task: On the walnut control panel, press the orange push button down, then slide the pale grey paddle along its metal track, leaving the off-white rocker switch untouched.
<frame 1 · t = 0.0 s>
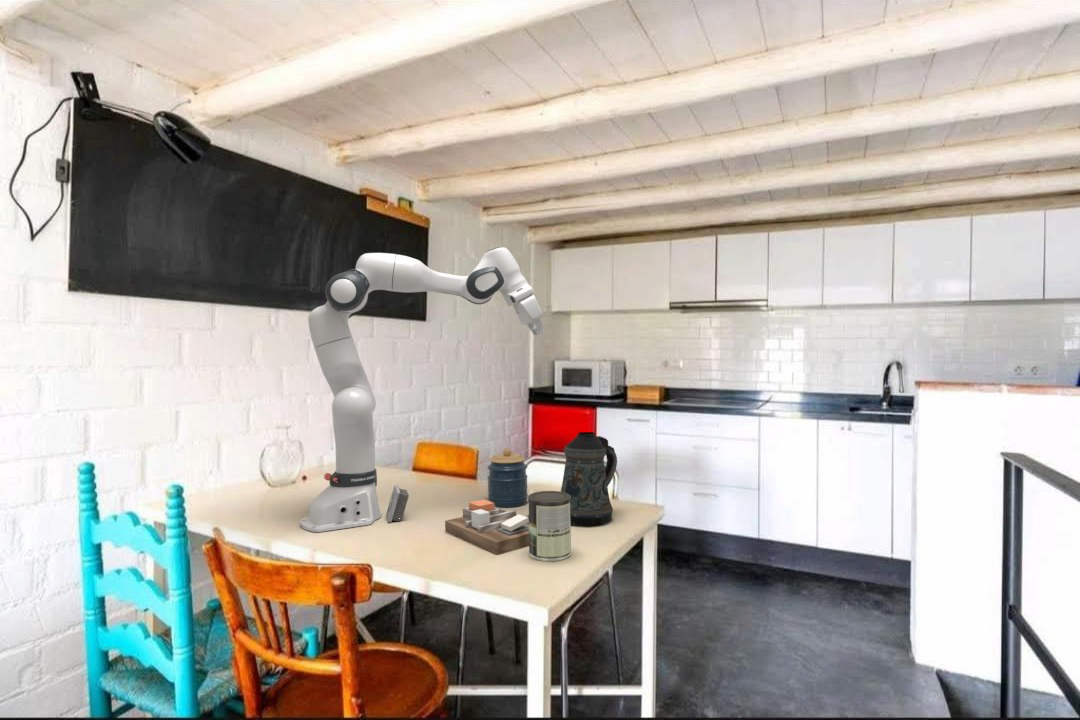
hand: (539, 334, 182), 54 cm above the table, tool tilted 30°, fingers open, 8 cm apart
coffee can: (550, 554, 140), on the table
beer stein: (586, 518, 170), on the table
rocker switch: (514, 522, 149), point 5 cm above the table, hinge at -12.0°
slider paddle: (480, 519, 151), point 5 cm above the table, slide at 0.0 cm
canister: (507, 503, 188), on the table
control panel: (497, 535, 155), on the table
push button: (481, 507, 161), point 6 cm above the table, slide at 0.0 cm
electrical switch: (396, 518, 172), on the table
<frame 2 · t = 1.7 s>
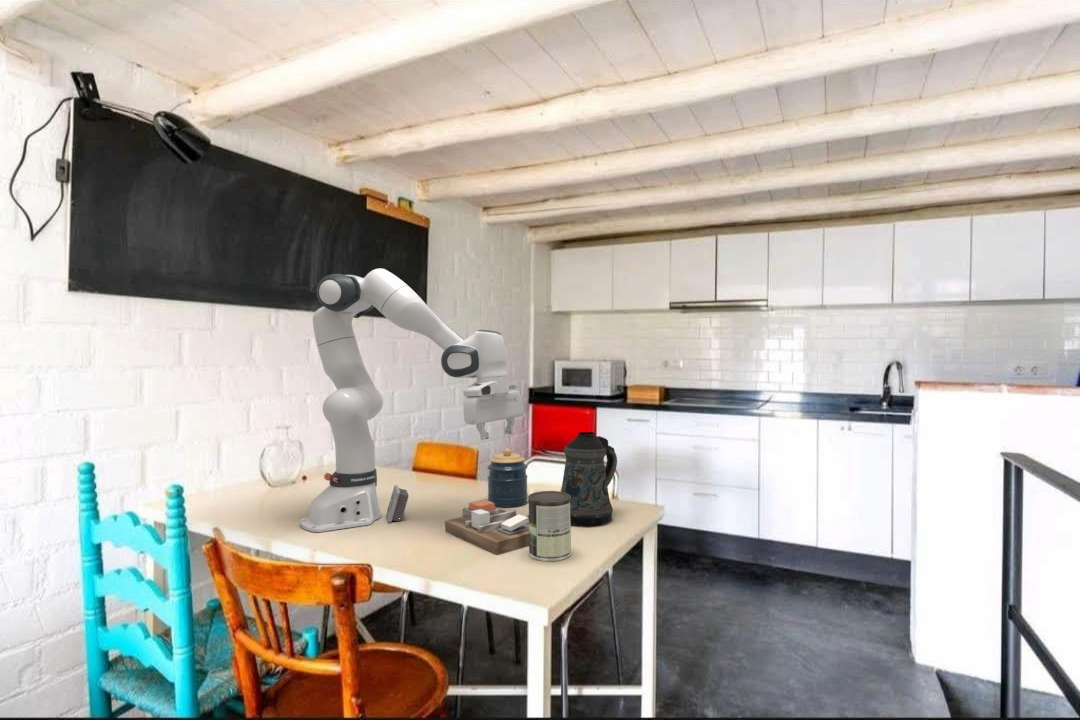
hand: (497, 436, 162), 25 cm above the table, tool pointing down, fingers open, 8 cm apart
nothing on the table moved.
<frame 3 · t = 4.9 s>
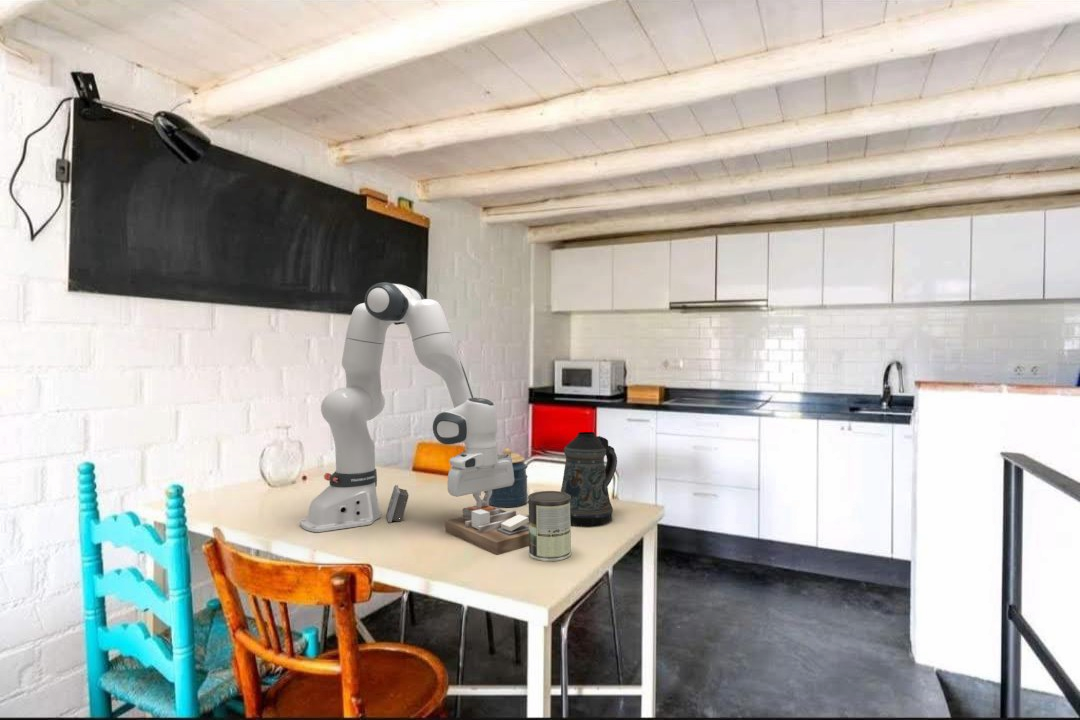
hand: (482, 506, 161), 6 cm above the table, tool pointing down, fingers closed, pressing on push button
push button: (481, 511, 161), point 5 cm above the table, slide at 1.2 cm, touching gripper
everything else where it was.
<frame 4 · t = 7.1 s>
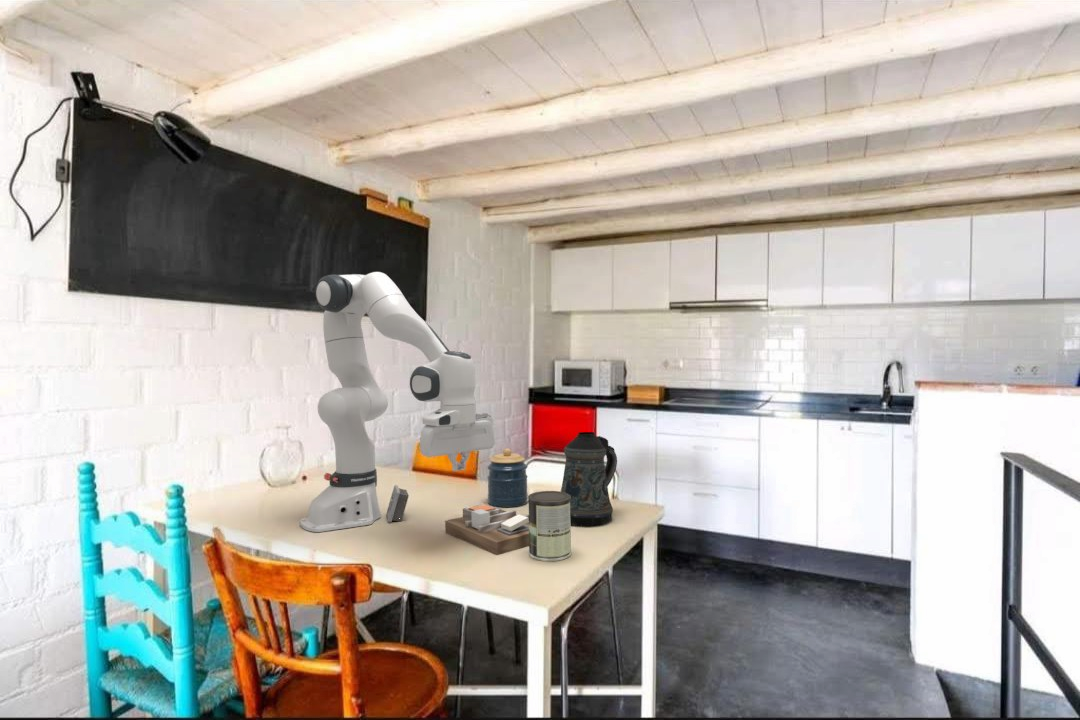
hand: (459, 470, 147), 19 cm above the table, tool pointing down, fingers closed
push button: (481, 512, 161), point 4 cm above the table, slide at 1.5 cm
everything else where it was.
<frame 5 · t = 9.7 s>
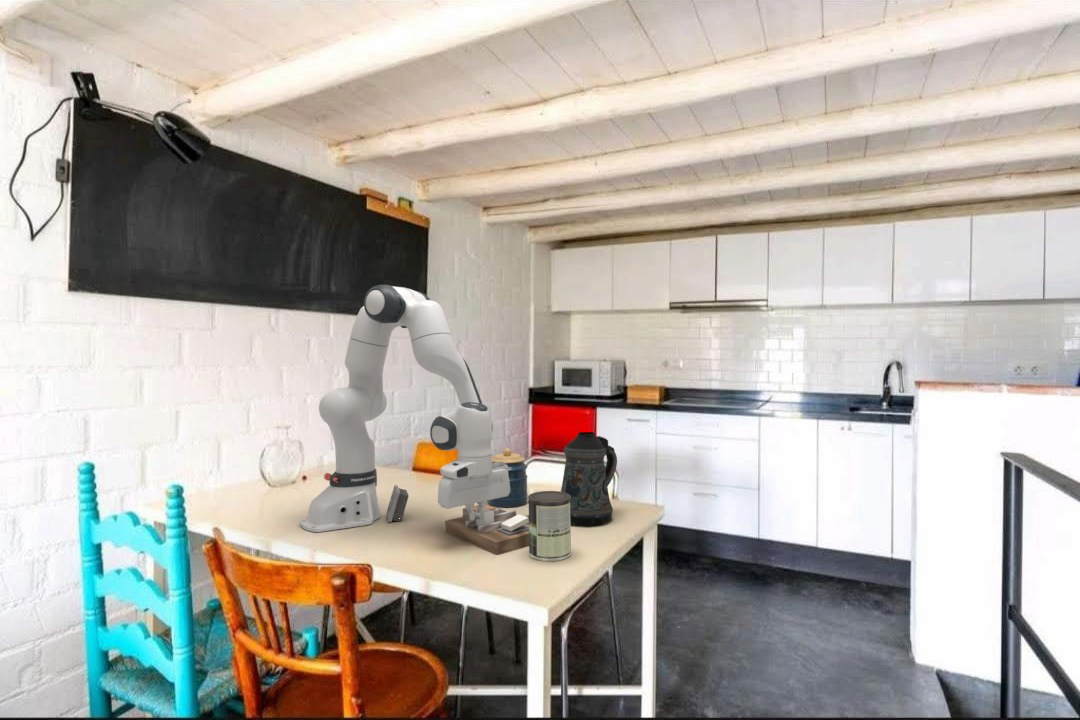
hand: (475, 519, 150), 6 cm above the table, tool pointing down, fingers closed
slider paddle: (485, 518, 152), point 5 cm above the table, slide at 1.4 cm, touching gripper
everything else where it was.
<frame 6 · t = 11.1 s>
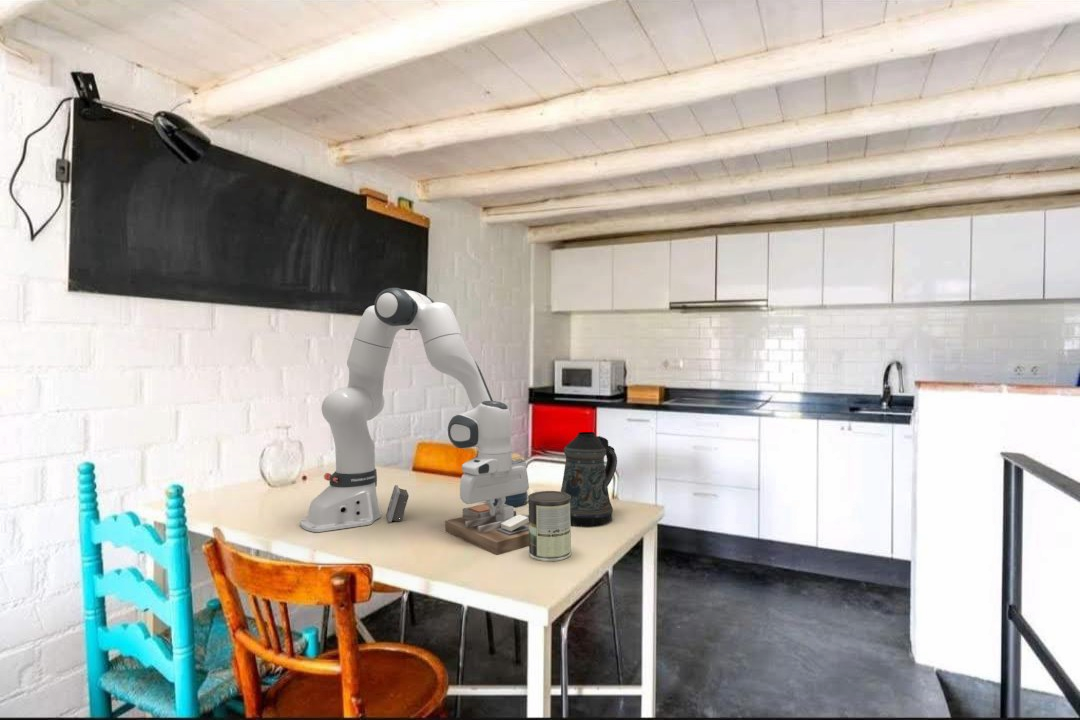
hand: (495, 514, 154), 6 cm above the table, tool pointing down, fingers closed
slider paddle: (504, 513, 156), point 5 cm above the table, slide at 7.8 cm, touching gripper
everything else where it was.
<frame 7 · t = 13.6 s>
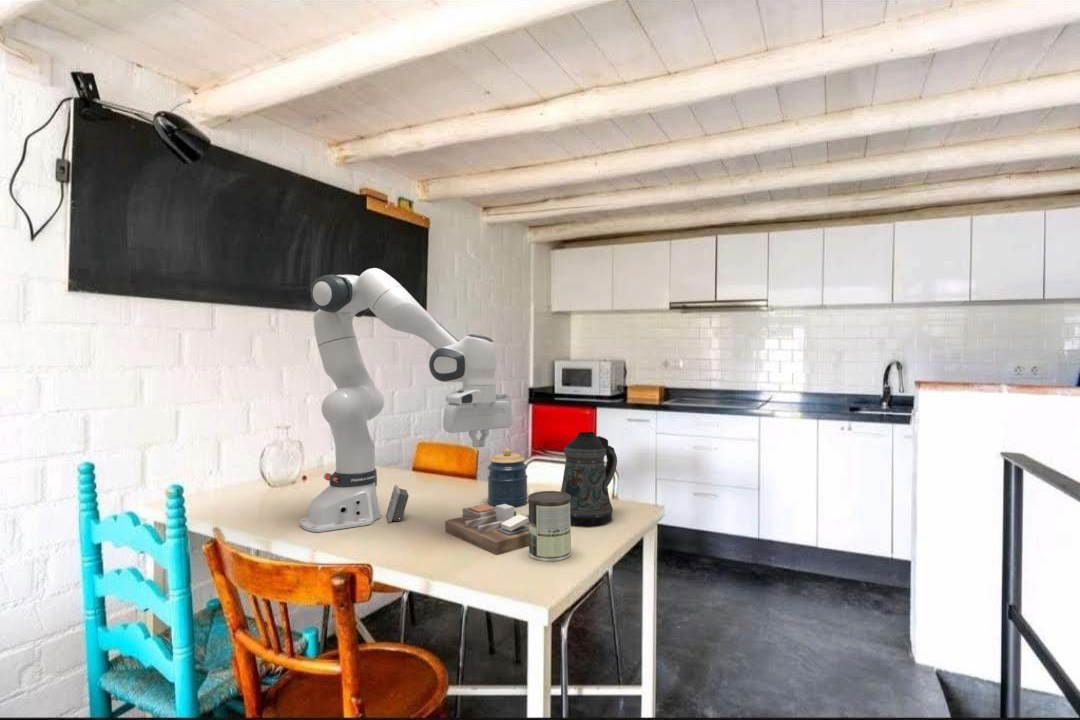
hand: (478, 446, 156), 23 cm above the table, tool pointing down, fingers closed
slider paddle: (504, 513, 156), point 5 cm above the table, slide at 7.9 cm
everything else where it was.
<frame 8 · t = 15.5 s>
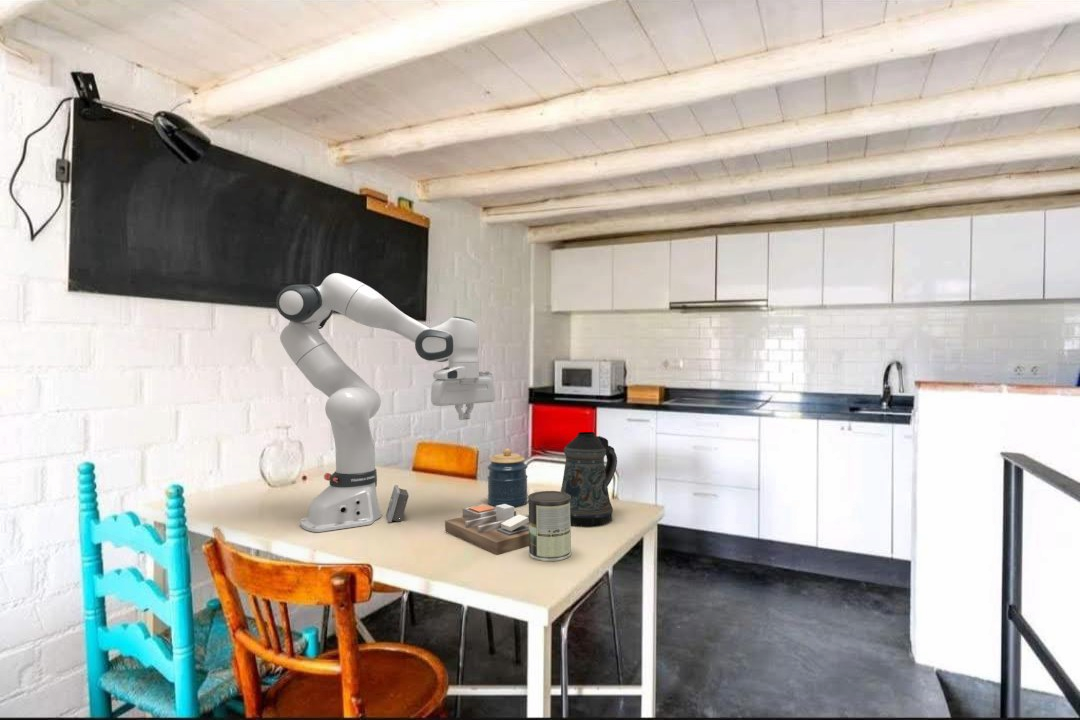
hand: (464, 419, 170), 29 cm above the table, tool pointing down, fingers closed
nothing on the table moved.
at the end: push button slide at 1.5 cm; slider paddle slide at 7.9 cm; rocker switch at -12° (first picture: -12°) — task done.
